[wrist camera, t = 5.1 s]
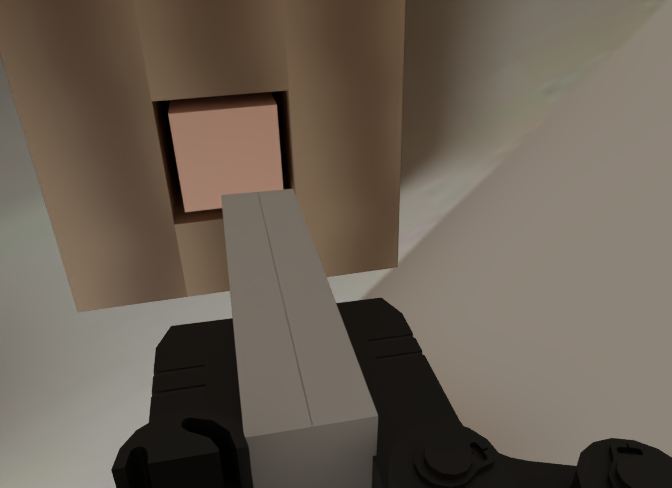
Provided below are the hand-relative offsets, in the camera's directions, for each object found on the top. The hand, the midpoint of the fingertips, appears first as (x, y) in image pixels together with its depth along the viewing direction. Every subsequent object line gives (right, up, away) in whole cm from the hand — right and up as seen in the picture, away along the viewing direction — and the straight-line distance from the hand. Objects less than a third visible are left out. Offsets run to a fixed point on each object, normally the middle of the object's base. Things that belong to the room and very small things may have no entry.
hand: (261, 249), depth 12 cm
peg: (-4, +6, +15) cm, 17 cm away
